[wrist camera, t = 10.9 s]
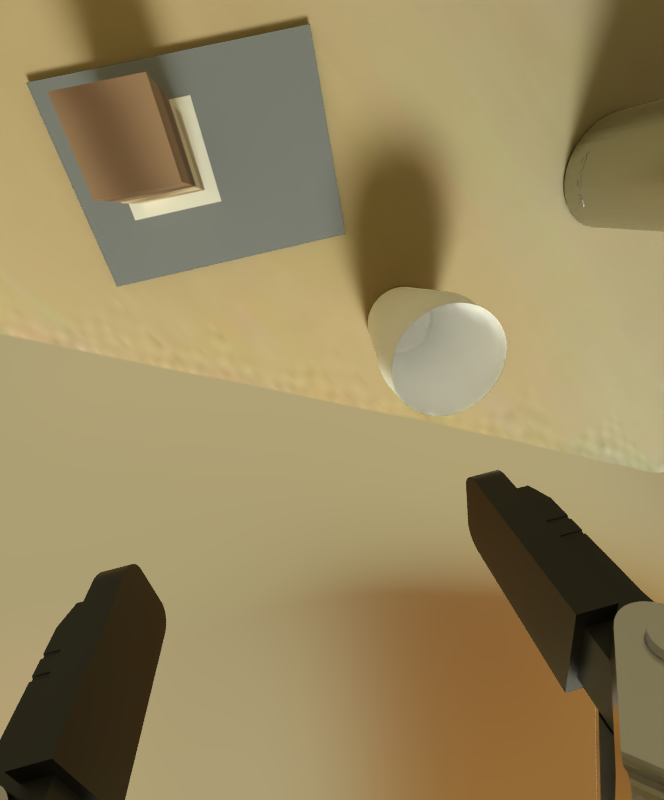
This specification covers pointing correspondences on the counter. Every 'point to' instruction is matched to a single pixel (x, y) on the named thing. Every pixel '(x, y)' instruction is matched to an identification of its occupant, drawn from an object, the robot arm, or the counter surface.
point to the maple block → (192, 165)
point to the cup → (436, 348)
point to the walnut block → (123, 137)
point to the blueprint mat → (221, 157)
